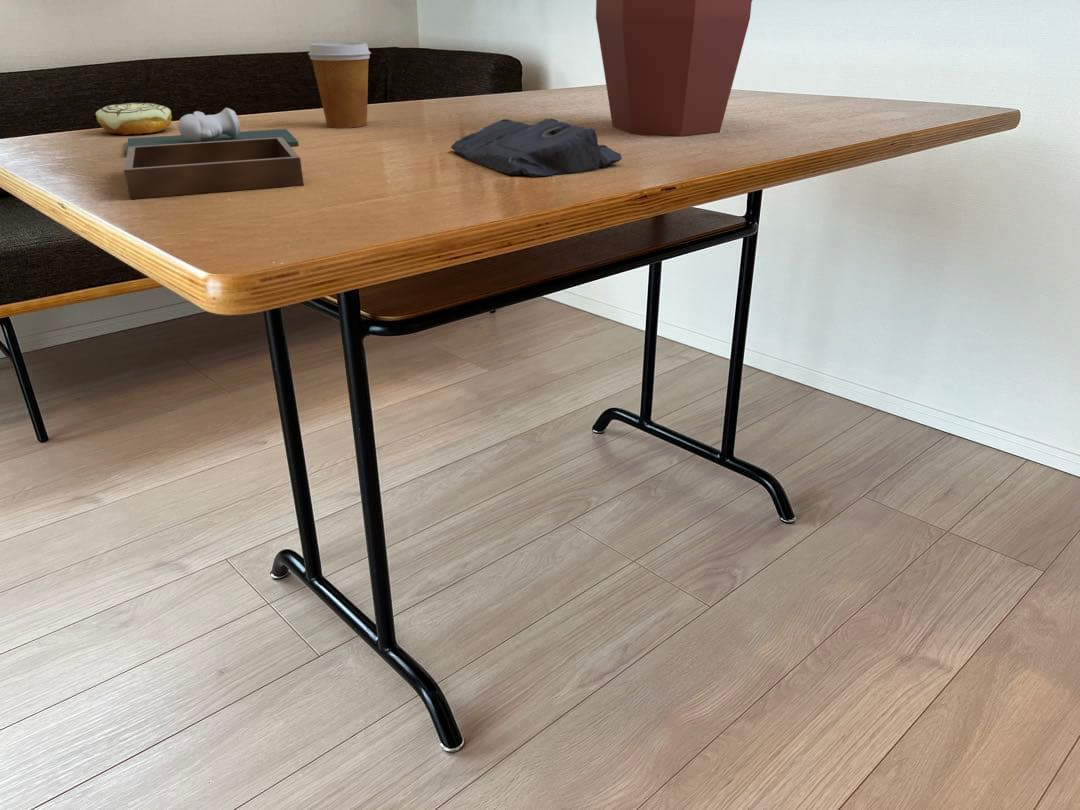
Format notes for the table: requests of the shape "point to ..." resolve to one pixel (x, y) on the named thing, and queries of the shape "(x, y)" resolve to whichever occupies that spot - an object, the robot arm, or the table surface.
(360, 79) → the disposable coffee cup
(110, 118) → the decorated donut
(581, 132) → the dark folded cloth
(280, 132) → the mat
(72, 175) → the table surface
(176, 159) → the brown rectangular tray
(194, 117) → the smooth white sculpture
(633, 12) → the bucket
